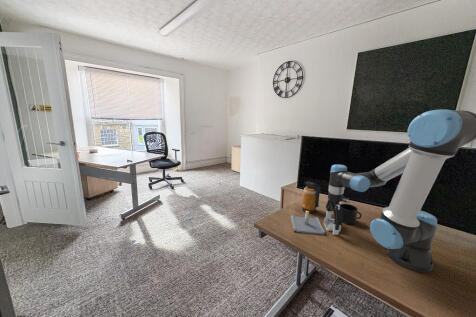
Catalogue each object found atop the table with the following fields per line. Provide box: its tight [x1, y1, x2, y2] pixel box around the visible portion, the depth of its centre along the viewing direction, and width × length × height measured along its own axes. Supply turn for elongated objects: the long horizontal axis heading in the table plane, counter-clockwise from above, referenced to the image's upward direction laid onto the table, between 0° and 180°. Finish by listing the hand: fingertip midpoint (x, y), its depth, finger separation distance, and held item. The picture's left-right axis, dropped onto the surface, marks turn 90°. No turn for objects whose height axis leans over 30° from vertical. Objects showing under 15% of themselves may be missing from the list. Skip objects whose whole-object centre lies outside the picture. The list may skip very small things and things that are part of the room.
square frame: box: [323, 217, 342, 233], centre depth 109 cm, size 7×7×4 cm
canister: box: [301, 181, 322, 213], centre depth 128 cm, size 9×11×20 cm
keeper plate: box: [290, 211, 326, 236], centre depth 111 cm, size 16×16×9 cm
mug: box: [339, 203, 363, 225], centre depth 116 cm, size 9×12×9 cm
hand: (331, 227), depth 110 cm, fingers open, 13 cm apart
